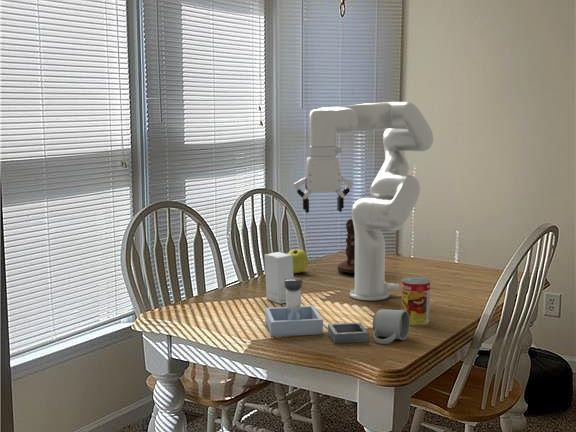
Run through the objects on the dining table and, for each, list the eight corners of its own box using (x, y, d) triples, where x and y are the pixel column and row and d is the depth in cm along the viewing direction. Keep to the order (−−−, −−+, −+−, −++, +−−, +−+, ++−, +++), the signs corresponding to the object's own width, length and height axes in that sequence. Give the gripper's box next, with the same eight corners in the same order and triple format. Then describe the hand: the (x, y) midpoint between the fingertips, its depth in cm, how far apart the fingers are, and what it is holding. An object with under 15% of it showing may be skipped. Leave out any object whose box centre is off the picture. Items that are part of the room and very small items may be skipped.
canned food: (399, 317, 217) (400, 276, 215) (427, 317, 217) (428, 276, 215) (403, 325, 210) (403, 283, 208) (431, 325, 209) (432, 283, 207)
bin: (313, 319, 216) (313, 305, 216) (322, 333, 203) (322, 319, 202) (265, 321, 214) (265, 307, 214) (271, 336, 201) (271, 322, 200)
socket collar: (360, 331, 205) (360, 322, 204) (368, 341, 196) (368, 332, 195) (327, 333, 203) (327, 324, 203) (334, 343, 195) (334, 334, 194)
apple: (287, 270, 278) (287, 243, 277) (308, 270, 277) (308, 244, 275) (284, 275, 270) (284, 247, 269) (306, 275, 269) (306, 248, 268)
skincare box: (295, 301, 235) (294, 255, 233) (278, 304, 232) (278, 257, 229) (280, 296, 242) (279, 250, 240) (264, 298, 239) (263, 252, 236)
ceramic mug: (381, 331, 205) (381, 303, 203) (410, 335, 201) (410, 307, 199) (366, 342, 196) (365, 314, 194) (395, 347, 192) (395, 318, 190)
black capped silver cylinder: (295, 321, 212) (294, 276, 210) (306, 325, 208) (306, 279, 206) (281, 324, 209) (280, 279, 207) (292, 329, 205) (291, 282, 203)
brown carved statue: (356, 266, 284) (356, 213, 281) (386, 272, 273) (387, 218, 270) (329, 272, 274) (329, 218, 271) (359, 279, 263) (359, 222, 260)
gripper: (349, 151, 220) (349, 208, 223) (291, 152, 218) (291, 210, 221) (355, 152, 213) (355, 212, 216) (295, 154, 210) (295, 214, 213)
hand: (323, 211), depth 218 cm, fingers open, 9 cm apart
